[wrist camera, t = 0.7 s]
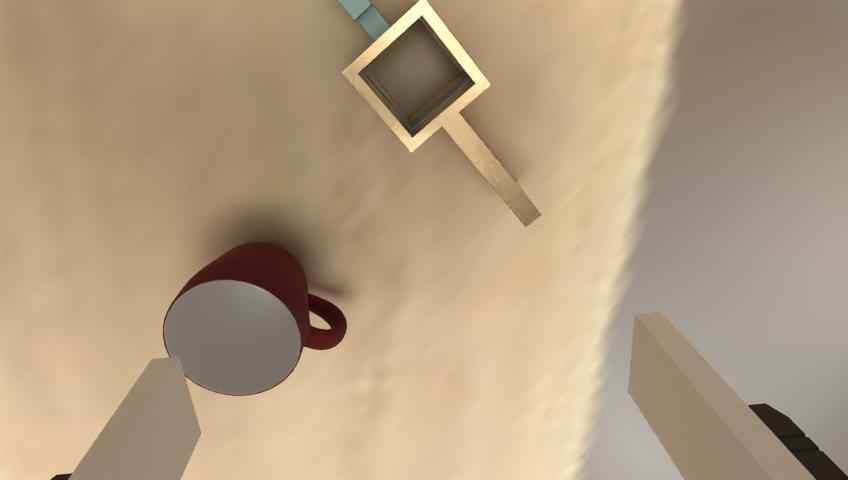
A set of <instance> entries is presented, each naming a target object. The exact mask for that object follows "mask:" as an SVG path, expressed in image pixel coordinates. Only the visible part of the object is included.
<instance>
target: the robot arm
mask: <svg viewBox="0 0 848 480" xmlns="http://www.w3.org/2000/svg"><path fill="white" fill-rule="evenodd" d="M628 392H629V394H630V395H631V397H632V398H633V400H634V401H635V403H636V405H637V406H638V408H639V409H640V411H641V412H642V414H643V416H644V417H645V418H646V420H647V422H648V423H649V425H650V427H651V428H652V430H653V431H654V433H655V434H656V436H657V438H658V439H659V441H660V442H661V444H662V445H663V447H664V448H665V450H666V452H667V453H668V455H669V456H670V458H671V459H672V461H673V462H674V464H675V465H676V467H677V469H678V470H679V472H680V473H681V475H682V477H683V478H684V480H848V476H847V475H846V474H844V473H843V471H842V470H841V469H840V468H838V466H837V465H836V464H835V463H834V462H833V461H832V460H831V459H830V458H829V457H827V455H826V454H825V453H824V452H823V451H820V450H819V448H818V446H817V445H816V444H815V443H814V442H813V441H812V440H811V439H810V438H809V437H806V436H805V433H804V432H803V431H802V430H801V429H800V428H798V426H797V425H796V424H795V423H793V421H792V420H791V419H790V418H789V417H787V416H785V415H784V414H782V413H780V412H779V411H777V410H775V409H774V408H772V407H770V406H769V405H767V404H755V405H747V404H746V403H745V402H744V401H743V400H742V399H741V398H740V397H739V396H738V395H737V393H736V392H735V391H734V390H733V389H732V388H731V387H730V386H729V385H728V384H727V383H726V382H725V380H723V378H722V377H721V376H720V375H719V374H718V373H717V372H716V371H715V370H714V369H713V368H712V366H711V365H710V364H709V363H708V362H707V361H706V360H705V359H704V358H703V357H702V356H701V355H700V353H699V352H698V351H697V350H696V349H695V348H694V347H693V346H692V345H691V344H690V343H689V342H688V341H687V339H686V338H685V337H684V336H683V335H682V334H681V333H680V332H679V331H678V330H677V329H676V328H675V326H674V325H673V324H672V323H671V322H670V321H669V320H668V319H667V318H666V317H665V316H664V315H663V314H662V312H661V311H660V312H650V313H639V314H635V317H634V328H633V340H632V353H631V363H630V376H629V387H628ZM200 435H201V431H200V427H199V424H198V420H197V417H196V413H195V410H194V406H193V403H192V399H191V396H190V392H189V389H188V385H187V382H186V378H185V375H184V372H183V368H182V365H181V361H180V358H179V357H169V358H159V359H152V360H151V361H150V363H149V364H148V366H147V367H146V368H145V370H144V371H143V373H142V374H141V376H140V377H139V378H138V380H137V381H136V383H135V384H134V386H133V387H132V389H131V390H130V391H129V393H128V394H127V396H126V397H125V399H124V400H123V401H122V403H121V404H120V406H119V407H118V409H117V410H116V412H115V413H114V414H113V416H112V417H111V419H110V420H109V422H108V423H107V424H106V426H105V427H104V429H103V430H102V432H101V433H100V434H99V436H98V437H97V439H96V440H95V442H94V443H93V445H92V446H91V447H90V449H89V450H88V452H87V453H86V455H85V456H84V457H83V459H82V460H81V462H80V463H79V465H78V466H77V468H76V469H75V470H74V472H73V473H71V474H61V475H56V476H55V477H53V478H52V479H51V480H180V479H181V477H182V474H183V472H184V470H185V468H186V466H187V463H188V461H189V459H190V457H191V455H192V452H193V450H194V448H195V446H196V444H197V441H198V439H199V437H200Z"/></svg>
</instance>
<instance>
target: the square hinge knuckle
mask: <svg viewBox="0 0 848 480" xmlns="http://www.w3.org/2000/svg"><path fill="white" fill-rule="evenodd" d="M420 16H421V17H422V18H423V20H424V21H425V22H426V23H427V25H428V26H429V27H430V29H431V30H432V31H433V32H434V34H435V35H436V36H437V37H438V39H439V40H440V41H441V43H442V44H443V45H444V46H445V48H446V49H447V50H448V52H449V53H450V54H451V55H452V57H453V58H454V59H455V61H456V62H457V63H458V64H459V66H460V67H461V68H462V70H463V71H464V72H465V73H466V75H467V76H468V77H469V78H470V81H468V82H467V83H466V84H465V85H464V86H463V87H462V88H460V89H459V90H458V91H457V92H456V93H455V94H453V95H452V96H451V97H450V98H449V99H448V100H446V101H445V102H444V103H443V104H442V105H441V106H439V107H438V108H437V109H436V110H435V111H434V112H432V113H431V114H430V115H429V116H428V117H427V118H426V119H424V120H423V121H422V122H421V123H420V124H419V125H417V126H416V127H415V128H414V129H413V130H412V131H411V130H410V129H409V127H408V126H407V125H406V124H405V123H404V122H403V120H402V119H401V118H400V117H399V116H398V115H397V113H396V112H395V111H394V110H393V109H392V107H391V106H390V105H389V104H388V103H387V102H386V100H385V99H384V98H383V97H382V96H381V95H380V93H379V92H378V91H377V90H376V89H375V88H374V86H373V85H372V84H371V83H370V82H369V81H368V79H367V78H366V77H365V76H364V75H363V74H362V72H361V70H362V69H364V70H365V72H366V73H367V74H368V75H369V76H370V77H371V79H372V80H373V81H374V82H375V83H376V84H377V86H378V87H379V88H380V89H381V90H382V92H383V93H384V94H385V95H386V96H387V97H388V99H389V100H390V101H391V102H392V103H393V104H394V106H395V107H396V108H397V109H398V110H399V111H400V113H401V114H402V115H403V116H404V117H405V119H406V120H407V121H408V122H409V123H410V124H411V123H412V122H413V121H415V120H416V119H417V118H418V117H419V116H420V115H421V114H423V113H424V112H425V111H426V110H427V109H428V108H430V107H431V106H432V105H433V104H434V103H435V102H436V101H438V100H439V99H440V98H441V97H442V96H443V95H445V94H446V93H447V92H448V91H449V90H450V89H452V88H453V87H454V86H455V85H456V84H457V83H458V82H460V81H461V80H462V79H463V78H464V77H465V75H464V73H463V72H462V71H461V69H460V68H459V67H458V66H457V64H456V63H455V62H454V61H453V59H452V58H451V57H450V55H449V54H448V53H447V52H446V50H445V49H444V48H443V46H442V45H441V44H440V43H439V41H438V40H437V39H436V38H435V36H434V35H433V34H432V32H431V31H430V30H429V29H428V27H427V26H426V25H425V23H424V22H423V21H422V20H421V18H420ZM418 18H419V20H420V21H421V22H422V23H423V25H424V26H425V27H426V28H427V30H428V31H429V32H430V34H431V35H432V36H433V37H434V39H435V40H436V41H437V43H438V44H439V45H440V46H441V48H442V49H443V50H444V51H445V53H446V54H447V55H448V57H449V58H450V59H451V60H452V62H453V63H454V64H455V66H456V67H457V68H458V69H459V71H460V72H461V73H460V74H459V75H458V76H457V77H456V78H455V79H453V80H452V81H451V82H450V83H449V84H448V85H447V86H445V87H444V88H443V89H442V90H441V91H440V92H439V93H437V94H436V95H435V96H434V97H433V98H432V99H430V100H429V101H428V102H427V103H426V104H425V105H424V106H422V107H421V108H420V109H419V110H418V111H417V112H415V113H414V114H413V115H412V116H411V117H410V118H409V117H408V116H407V115H406V113H405V112H404V111H403V110H402V109H401V108H400V106H399V105H398V104H397V103H396V102H395V100H394V99H393V98H392V97H391V96H390V95H389V93H388V92H387V91H386V90H385V89H384V87H383V86H382V85H381V84H380V83H379V82H378V80H377V79H376V78H375V77H374V76H373V75H372V73H371V72H370V71H369V70H368V69H367V67H366V65H368V64H369V63H370V62H371V61H372V60H373V59H374V58H375V57H376V56H377V55H379V54H380V53H381V52H382V51H383V50H384V49H385V48H386V47H387V46H388V45H390V44H391V43H392V42H393V41H394V40H395V39H396V38H397V37H398V36H399V35H400V34H402V33H403V32H404V31H405V30H406V29H407V28H408V27H409V26H410V25H411V24H413V23H414V22H415V21H416V20H417V19H418ZM342 73H343V74H344V76H345V77H346V78H347V79H348V80H349V81H350V82H351V84H352V85H353V86H354V87H355V88H356V89H357V91H358V92H359V93H360V94H361V95H362V96H363V97H364V99H365V100H366V101H367V102H368V103H369V104H370V106H371V107H372V108H373V109H374V110H375V111H376V112H377V114H378V115H379V116H380V117H381V118H382V119H383V120H384V122H385V123H386V124H387V125H388V126H389V127H390V129H391V130H392V131H393V132H394V133H395V134H396V135H397V137H398V138H399V139H400V140H401V141H402V142H403V143H404V145H405V146H406V147H407V148H408V149H409V150H410V152H412V151H414V150H415V149H416V148H417V147H418V146H420V145H421V144H422V143H423V142H424V141H425V140H427V139H428V138H429V137H430V136H431V135H432V134H434V133H435V132H436V131H437V130H438V129H440V128H441V127H443V128H444V129H445V130H446V132H447V133H448V134H449V135H450V136H451V138H452V139H453V140H454V141H455V142H456V144H457V145H458V146H459V147H460V148H461V150H462V151H463V152H464V153H465V155H466V156H467V157H468V158H469V159H470V161H471V162H472V163H473V164H474V165H475V167H476V168H477V169H478V170H479V171H480V173H481V174H482V175H483V176H484V177H485V179H486V180H487V181H488V182H489V183H490V185H491V186H492V187H493V188H494V189H495V191H496V192H497V193H498V194H499V196H500V197H501V198H502V199H503V200H504V202H505V203H506V204H507V205H508V206H509V208H510V209H511V210H512V211H513V212H514V214H515V215H516V216H517V217H518V218H519V220H520V221H521V222H522V223H523V224H524V226H525V227H526V226H528V225H529V224H530V223H532V222H533V221H534V220H536V219H537V218H538V217H539V216H541V214H540V212H539V211H538V210H537V208H536V207H535V206H534V205H533V203H532V202H531V201H530V199H529V198H528V197H527V195H526V194H525V193H524V191H523V190H522V189H521V188H520V186H519V185H518V184H517V182H516V181H515V180H514V179H513V177H512V176H511V175H510V174H509V172H508V171H507V170H506V169H505V168H504V166H503V165H502V164H501V163H500V161H499V160H498V159H497V158H496V156H495V155H494V154H493V153H492V151H491V150H490V149H489V148H488V146H487V145H486V144H485V143H484V142H483V140H482V139H481V138H480V137H479V135H478V134H477V133H476V132H475V130H474V129H473V128H472V127H471V125H470V124H469V123H468V122H467V120H466V119H465V118H464V117H463V115H462V114H461V113H460V111H461V110H462V109H463V108H464V107H465V106H467V105H468V104H469V103H470V102H471V101H472V100H474V99H475V98H476V97H477V96H478V95H480V94H481V93H482V92H483V91H484V90H485V89H487V88H488V87H489V86H490V83H489V82H488V81H487V79H486V78H485V77H484V75H483V74H482V73H481V72H480V70H479V69H478V68H477V66H476V65H475V64H474V62H473V61H472V60H471V59H470V57H469V56H468V55H467V53H466V52H465V51H464V49H463V48H462V47H461V46H460V44H459V43H458V42H457V40H456V39H455V38H454V36H453V35H452V34H451V32H450V31H449V30H448V29H447V27H446V26H445V25H444V23H443V22H442V21H441V19H440V18H439V17H438V16H437V14H436V13H435V12H434V10H433V9H432V8H431V6H430V5H429V4H428V3H427V1H426V0H420V1H418V3H416V4H415V5H414V6H413V7H412V8H411V9H410V10H409V11H408V12H406V14H405V15H403V16H402V17H401V18H400V19H399V20H398V21H397V22H396V23H394V24H393V26H391V27H390V28H389V29H388V30H387V31H386V32H385V33H384V34H383V35H382V36H381V37H380V38H378V39H377V40H376V41H375V42H374V43H373V44H372V45H371V46H369V47H368V49H366V50H365V51H364V52H363V53H362V54H361V55H360V56H359V57H358V58H356V60H355V61H353V62H352V63H351V64H350V65H349V66H348V67H347V68H346V69H345V70H344V71H343V72H342Z"/></svg>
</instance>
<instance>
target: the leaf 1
mask: <svg viewBox="0 0 848 480" xmlns="http://www.w3.org/2000/svg"><path fill="white" fill-rule="evenodd" d="M338 1H339V2H340V4H341V5H342V6H343V7H344V9H345V10H346V11H347V12H348V13H349V15H350V16H351V17H352V18H353V19H354V20H357V21H358V22H359V23H360V24H361V26H362V27H363V28H364V29H365V30H366V32H367V33H368V34H369V35H370V37H371V38H372V39H373V40H374V41H376V40H377V39H378V38H380V37H381V36H382V35H383V34H384V33H385V32H386V31H387V30H388V29H389V28H390V26H389V24H388V23H387V22H386V21H385V19H384V18H383V17H382V16H381V14H380V13H379V12H378V11H377V9H376V8H375V6H374V5H373V4H372V3H371V2H370V0H338ZM417 3H418V2H417ZM405 14H406V13H405ZM405 14H404V15H405ZM420 18H421V20H422V21H423V22H424V23H425V25H426V26H427V27H428V29H429V30H430V31H431V32H432V34H433V35H434V36H435V38H436V39H437V40H438V41H439V43H440V44H441V45H442V46H443V48H444V49H445V50H446V52H447V53H448V54H449V55H450V57H451V58H452V59H453V61H454V62H455V63H456V64H457V66H458V67H459V68H460V69H461V71H462V72H463V73H464V75H465V77H464V78H463V79H462V80H461V81H460V82H458V83H457V84H456V85H455V86H454V87H453V88H452V89H450V90H449V91H448V92H447V93H446V94H445V95H443V96H442V97H441V98H440V99H439V100H438V101H436V102H435V103H434V104H433V105H432V106H431V107H430V108H428V109H427V110H426V111H425V112H424V113H423V114H421V115H420V116H419V117H418V118H417V119H416V120H415V121H413V122H412V123H411V124H410V123H409V122H408V121H407V120H406V119H405V117H404V116H403V115H402V114H401V113H400V111H399V110H398V109H397V108H396V107H395V106H394V104H393V103H392V102H391V101H390V100H389V99H388V97H387V96H386V95H385V94H384V93H383V92H382V90H381V89H380V88H379V87H378V86H377V84H376V83H375V82H374V81H373V80H372V79H371V77H370V76H369V75H368V74H367V73H366V72H365V70H364V69H362V70H361V72H362V74H363V75H364V76H365V77H366V78H367V79H368V81H369V82H370V83H371V84H372V85H373V86H374V88H375V89H376V90H377V91H378V92H379V93H380V95H381V96H382V97H383V98H384V99H385V100H386V102H387V103H388V104H389V105H390V106H391V107H392V109H393V110H394V111H395V112H396V113H397V115H398V116H399V117H400V118H401V119H402V120H403V122H404V123H405V124H406V125H407V126H408V127H409V129H410V130H411V131H412V130H413V129H414V128H415V127H416V126H417V125H419V124H420V123H421V122H422V121H423V120H424V119H426V118H427V117H428V116H429V115H430V114H431V113H432V112H434V111H435V110H436V109H437V108H438V107H439V106H441V105H442V104H443V103H444V102H445V101H446V100H448V99H449V98H450V97H451V96H452V95H453V94H455V93H456V92H457V91H458V90H459V89H460V88H462V87H463V86H464V85H465V84H466V83H467V82H468V81H470V78H469V77H468V76H467V75H466V73H465V72H464V71H463V70H462V68H461V67H460V66H459V64H458V63H457V62H456V61H455V59H454V58H453V57H452V55H451V54H450V53H449V52H448V50H447V49H446V48H445V46H444V45H443V44H442V43H441V41H440V40H439V39H438V37H437V36H436V35H435V34H434V32H433V31H432V30H431V29H430V27H429V26H428V25H427V23H426V22H425V21H424V20H423V18H422V17H421V16H420ZM392 26H393V25H392ZM367 49H368V48H367ZM355 60H356V59H355ZM355 60H354V61H355Z"/></svg>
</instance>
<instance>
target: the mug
mask: <svg viewBox="0 0 848 480" xmlns="http://www.w3.org/2000/svg"><path fill="white" fill-rule="evenodd" d="M309 311H311V312H313V313H315V314H316V315H318V316H319V317H321V318H322V319H324V320H325V321H326V322H327V323H328V324H329V325H330V327H331V329H328V330H325V329H319V328H316V327H313V326H311V325H310V318H309ZM346 329H347V322H346V318H345V316H344V314H343V313H342V311H341V310H340V309H339V308H338V307H337V306H335V305H334V304H332V303H330V302H329V301H327V300H324V299H322V298H320V297H317V296H314V295H311V294H309V293H308V286H307V280H306V276H305V273H304V271H303V269H302V267H301V265H300V263H299V262H298V261H297V259H296V258H295V257H294V256H293V255H292V254H291V253H289V252H288V251H287V250H285V249H283V248H282V247H279V246H277V245H274V244H270V243H264V242H253V243H247V244H243V245H240V246H238V247H235V248H233V249H232V250H230V251H228V252H227V253H225V254H224V255H222V256H221V257H219V258H218V259H216V260H215V261H213V262H212V263H210V264H209V265H207V266H206V267H204V268H203V269H202V270H200V271H199V272H198V273H197V274H195V275H194V276H193V277H192V278H191V279H190V280H189V281H188V282H187V284H186V285H185V286H184V287H183V289H182V290H181V291H180V292H179V294H178V295H177V297H176V298H175V300H174V301H173V302H172V304H171V305H170V307H169V309H168V311H167V313H166V316H165V320H164V324H163V339H164V344H165V347H166V350H167V353H168V355H169V357H179V358H180V361H181V365H182V368H183V372H184V375H185V376H186V377H187V378H188V379H190V380H191V381H192V382H194V383H195V384H197V385H199V386H201V387H203V388H205V389H207V390H210V391H213V392H216V393H220V394H225V395H233V396H244V395H253V394H257V393H261V392H264V391H267V390H269V389H271V388H273V387H275V386H277V385H278V384H280V383H281V382H283V381H284V380H285V379H286V378H287V377H288V376H289V375H290V374H291V373H292V371H293V370H294V368H295V367H296V365H297V363H298V361H299V358H300V356H301V353H302V350H303V347H308V348H311V349H316V350H326V349H330V348H333V347H335V346H336V345H337V344H339V343H340V342H341V341H342V339H343V337H344V335H345V333H346Z"/></svg>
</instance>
